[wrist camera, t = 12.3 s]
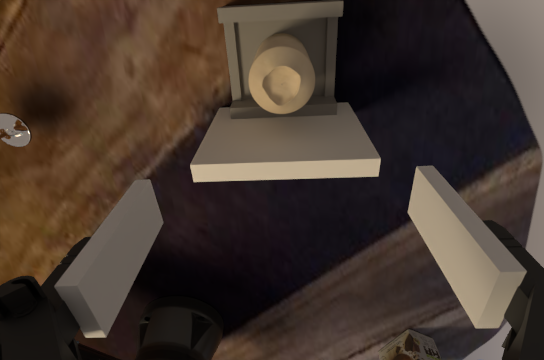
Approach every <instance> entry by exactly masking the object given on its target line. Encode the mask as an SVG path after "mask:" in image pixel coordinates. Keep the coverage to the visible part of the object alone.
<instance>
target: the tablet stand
mask: <svg viewBox="0 0 544 360" xmlns="http://www.w3.org/2000/svg"><path fill="white" fill-rule="evenodd" d="M217 12H218V20H219V23H224V31H225V40H226V48H227V56H228V65H229V73H230V82H231V90H232V98H233V102H232V104H231V106H230V107H225V108H219V110H218V112H217V114H216V116H215V118H214V120H213V122H212V124H211V125H210V127H209V129H208V131H207V133H206V135H205V137H204V139H203V141H202V143H201V145H200V147H199V149H198V151H197V153H196V154H195V156H194V158H193V160H192V162H191V164H190V167H191V172H192V176H193V181H194V182H209V181H242V180H275V179H308V178H342V177H375V176H378V175H379V168H380V161H381V158H380V156H379V155H378V153H377V151H376V149H375V148H374V146H373V144H372V143H371V141H370V139H369V137H368V136H367V134H366V132H365V130H364V129H363V127H362V125H361V124H360V122H359V120H358V118H357V117H356V115H355V113H354V112H353V110H352V108H351V106H350V105H349V103H348V102H345V103H337V102H336V100H335V98H334V87H335V68H336V48H337V29H338V17H342V16H343V1H341V0H322V1H304V2H287V3H270V4H253V5H235V6H223V7H220V8H217ZM279 33H285V34H289V35H292V36H294V37H296V38H297V39H298V40H299V41H300V42H301V43H302V44H303V46H304V47H305V49H306V51H307V54H308V56H309V59H310V61H311V63H312V66H313V69H314V72H315V87H314V91H313V93H312V95H311V97H310V99H309V100H308V102H307V103H306V104H305V105H304V106H303V107H301V108H300V109H298V110H296V111H294V112H292V113H287V114H276V113H272V112H269V111H267V110H265V109H263V108H262V107H261V106H260V105H259V104H258V103H257V102H256V101H255V100H254V98H253V96H252V94H251V92H250V89H249V72H250V69H251V66H252V63H253V61H254V58H255V55H256V53H257V50H258V48H259V46H260V45H261V43H262V42H263V41H264V40H265V39H267V38H268V37H270V36H272V35H274V34H279Z"/></svg>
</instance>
